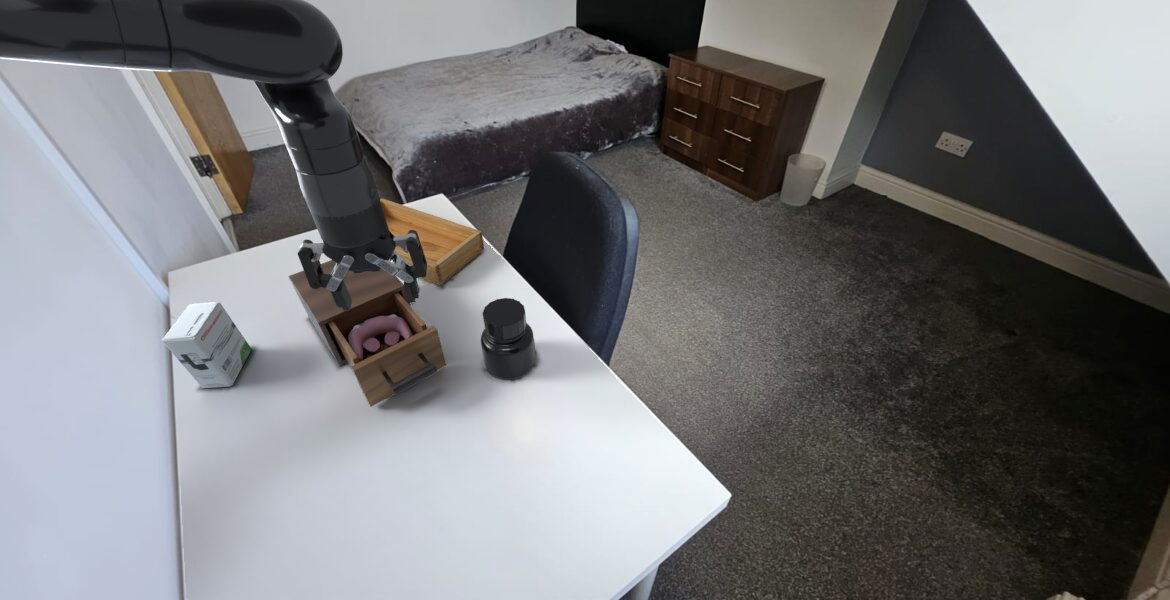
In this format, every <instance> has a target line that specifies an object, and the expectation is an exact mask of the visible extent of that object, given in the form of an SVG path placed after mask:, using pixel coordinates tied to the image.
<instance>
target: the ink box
mask: <svg viewBox="0 0 1170 600" xmlns="http://www.w3.org/2000/svg"><path fill="white" fill-rule="evenodd" d="M161 341H162V343H163V344H164V345H165V347H167V348H168V350H169V351H170V352H171V354H172V355H173V356H174V357H175V358H176V360H178V362H179V363H180V364H181V365H182V367H184V369H185V370H186V371H187V373H189V375H190V376H191V377H192V378H193V379H194V380H195V381H196V383H197V384H198V385H199V386H200V388H202V389H209V388H210V389H212V388H226V387H232V386H233V385H234V383H235V382H236V379H237V378H238V376H239V374H240V372H241V370H242V368H243V366H244V364H245V363H246V361H247V359H248V358H249V356H250V354H251V352H252V350H253V349H252V347H251V345H250V344H249V342H248V341H247V340H246V339H245V337H244V335H243V334H242V332H241V331H240V330H239V328H238V327H237V325H236V324H235V322H234V321H233V319H232V318H231V316H230V315H229V314H228V312H227V311H226V309H225V308H224V306H223V305H222V304H221V302H220V301H209V302H197V303H189V304H188V305H187V306H186V308H185V309H184V310H183V312H182V313H181V315H180V316H179V317H178V318H177V319H176V321H175V322H174V323H173V325H172V326H171V327H170V329H169V330H168V331H167V333H166V334H165V335H164V337H162V339H161Z"/></svg>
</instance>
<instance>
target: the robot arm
mask: <svg viewBox="0 0 1170 600" xmlns="http://www.w3.org/2000/svg"><path fill="white" fill-rule="evenodd" d="M343 50H344V47H343V42H342V39H341V36H340V34H339V32H338V29H337V28H336V26H335V24H334V23H333V22H332V20H331V19H330V18H329V17H328V16H327V15H326V14H325V13H324V12H323V11H322V10H320V9H319V8H318V7H316V6H315V5H314V4H312V3H310V2H308V1H307V0H0V59H2V60H13V61H24V62H25V61H26V62H33V63H34V62H36V63H47V64H58V65H59V64H60V65H69V66H81V67H92V68H93V67H95V68H97V67H98V68H105V69H106V68H109V69H120V70H123V69H124V70H134V71H150V72H168V73H203V74H212V75H217V76H224V77H227V78H228V77H229V78H234V79H241V80H247V81H252V82H253V83H254V85H255V87H256V88H257V90H258V92H259V94H260V96H261V97H262V99H263V101H264V102H265V104H266V105H267V107H268V109H269V111H270V113H271V114H272V116H273V118H274V119H275V122H276V123H277V126H278V128H279V132H280V135H281V137H282V141H283V143H284V146H285V147H286V150H287V153H288V155H289V158H290V160H291V163H292V165H293V167H294V169H295V172H296V177H297V180H298V181H297V182H298V185H299V188H300V191H301V194H302V198H303V201H304V203H305V204H306V205H307V208H308V210H309V212H310V215H311V217H312V219H313V222H314V224H315V226H316V230H317V231H318V234H319V236H320V239H321V240H322V242H315V243H314V242H313V241H312V240H310V239H304V240H302V242H301V244H300V246H299V248H298V251H297V257H298V259H299V262H300V264H301V267H302V269H303V270H302V271H304V272H305V275H306V277H307V280H308V283H309V285H310V287H311V288H313V289H319V288H320V287H322V288H327V289H328V290H329V291H330V292H331V294H332V296H333V298H334V301H335V303H336V305H337V306H338V307H339V308H340V307H342V309H343V311H347V310H350V308H351V304H352V301H351V297H350V295H349V292H348V290H347V288H346V285H345V283H344V280H343V278H344V277H345V275H346V273H347V271H348V270H349V271H352V272H354V274H355V273H362V272H365V271H372V272H375V271H380V269H383V270H384V271H386V272H387V273H389V274H390V275H392V276H394V275H395V276H396V277H397V278H398V279H399V280H402V281H403V284H404V287H405V290H406V293H407V297H408V300H409V303H410V304H414V303H416V299H419V297H420V287H419V286H420V285H419V283H418V278H421V279H423V277H425V276H426V273H427V261H426V258H425V255H424V252H423V249H422V246H421V243H420V240H419V237H418V234H417V232H416V231H415V230H409V231H408V233H407V235H401V236H394V235H393V234H392V233H391V232H390V231H389V228H388V225H387V222H386V218H385V215H384V211H383V208H382V205H381V202H380V199H381V198H380V195H379V192H378V188H377V186H376V182H375V178H374V175H373V173H372V170H371V167H370V166H369V164H368V162H367V160H366V156H365V154H364V151H363V147H362V144H361V141H360V137H359V134H358V131H357V128H356V124H355V121H354V119H353V117H352V114H351V112H350V111H349V110H348V108H347V107H346V106H345V105H344V104H343V102H341V100H340V99H339V98H338V97H337V96H336V95H335V93H334V92H333V91H334V90H333V88H332V87H331V84H330V83H329V79H331V78H332V77H333V76H334V75H336V73H337V72H338V70H339V69H340V66H341V64H342V61H343V56H344V52H343ZM396 246H399V247H401V248H402V249H403V251H405V253H409V254H410V257H411V260H412V262H413V265H411V264H409V263H408V262H407V261H405V260H404V259H403V258H402V256H401V255H400V254H399V253H397V252H396V251H394V250H395V248H396ZM322 254H323V255H324V256H325V257H327V258H328V259H329V260H333V261H334V262H336V265H335V267H334V269H333V271H332V273H331V274H324V272H323V269H322V267H321V264H322V263H321V262H320V261H321V256H322ZM389 259H390V261H391V262H389V261H388V260H389Z"/></svg>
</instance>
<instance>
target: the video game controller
mask: <svg viewBox="0 0 1170 600" xmlns="http://www.w3.org/2000/svg"><path fill="white" fill-rule="evenodd" d="M382 333H387V334H386V335H385V343H386V344H387V345H388V346H389V347H391V346H393V345H395V344H397V343H398V341H399V337H400V336H403V337H404V339H407V338H410V337H412V336H413V335H412V333H411V330H410V328H409V326H408V325H407V323H406V322H405V320H404V319H403V318H401V317H398V316H396V315H394V314H393V315H390V316H378V317H375V318H371V319H368V320H366V321H364V322H363V323H361V324H359V325H356V326H354V328H353V329H352V330H351V332H350V334H349V345H350V347H351V348H352V350H353V351H354V353H355V354H356V356H357V357H358V359H359V361H362V359H363V350H362V348H365V349H366V350H367V351H368V352H370V353H375V352H377V351H378V350H379V348H380V343H379V341H378V340H377V339H375V338H373V337H374V336H376V335H379V334H382Z"/></svg>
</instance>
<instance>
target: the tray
mask: <svg viewBox="0 0 1170 600" xmlns="http://www.w3.org/2000/svg"><path fill="white" fill-rule="evenodd" d="M380 202H381V205H382V208H383V211H384V215H385V218H386V222H387V225H388V228H389V231H390V232H391V233H392V234H393V235H394V236H401V235H407V233H408V231H409V230H415V231H416V232H417V234H418V237H419V240H420V243H421V246H422V249H423V252H424V255H425V258H426V261H427V273H426V276H425V277H423V278H422V279H423V280H426V281H429V282H431V283H432V284H433V283H434V284H436V285H439V286H442V285H443V284H444V283H445V282H446V281H448V280H449V279H450V278H451V277H453V276H454V275H455V274H456V273H457V272H459V271H460V270H461V269H462V268H463V267H465V266H466V265H467V264H468V263H470V262H471V261H472V260H473V259H474V258H475V257H477V256H478V255H479V254H481V252H483V251H484V250H485V244H484V237H483V232H482V231H481V230H480V229H476V228H473V227H469V226H467V225H463V224H460V223H457V222H455V221H451V220H450V219H449V220H448V219H445V218H443V217H439V216H436V215H433V214H431V213H427V212H425V211H421V210H418V209H415V208H412V207H409V206H406V205H403V204H400V203H397V202H394V201H391V200H388V199H386V198H380ZM394 251H396V252H397V253H399V254H400V255H401V256H402V258H403V259H404V260H405V261H407V262H408V263H409V264H411V265H413V262H412V260H411V257H410V254H409V253H405V251H403V249H402V248H401V247H399V246H396V248H395V250H394ZM388 261H389V262H391V261H390V259H389V260H388Z"/></svg>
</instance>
